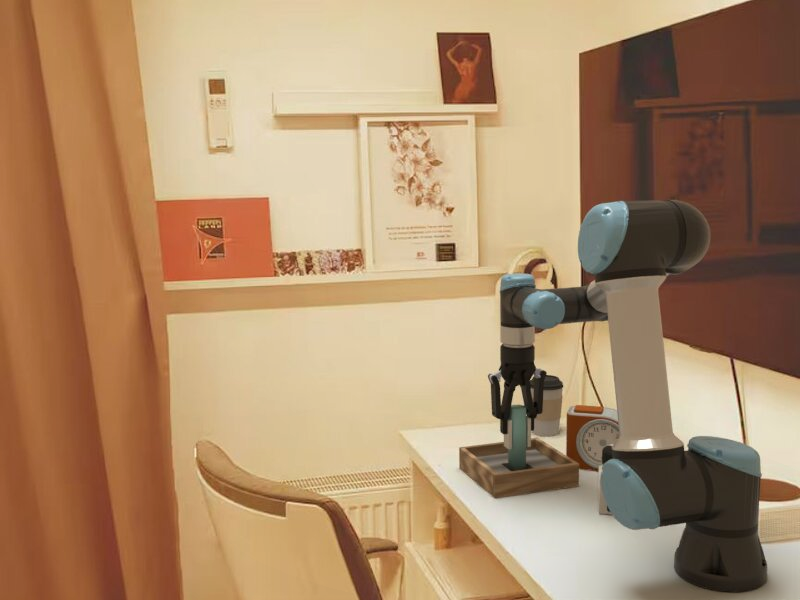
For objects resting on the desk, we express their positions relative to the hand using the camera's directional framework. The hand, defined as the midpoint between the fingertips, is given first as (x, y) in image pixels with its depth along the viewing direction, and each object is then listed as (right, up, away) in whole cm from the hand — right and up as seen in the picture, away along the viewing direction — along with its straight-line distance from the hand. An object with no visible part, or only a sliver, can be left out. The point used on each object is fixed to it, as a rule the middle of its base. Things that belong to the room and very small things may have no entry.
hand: (517, 446), depth 203 cm
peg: (0, -5, +1) cm, 5 cm away
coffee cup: (+12, -2, +33) cm, 35 cm away
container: (+18, -10, -18) cm, 27 cm away
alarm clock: (+20, -6, +8) cm, 22 cm away
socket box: (0, -7, +1) cm, 7 cm away
